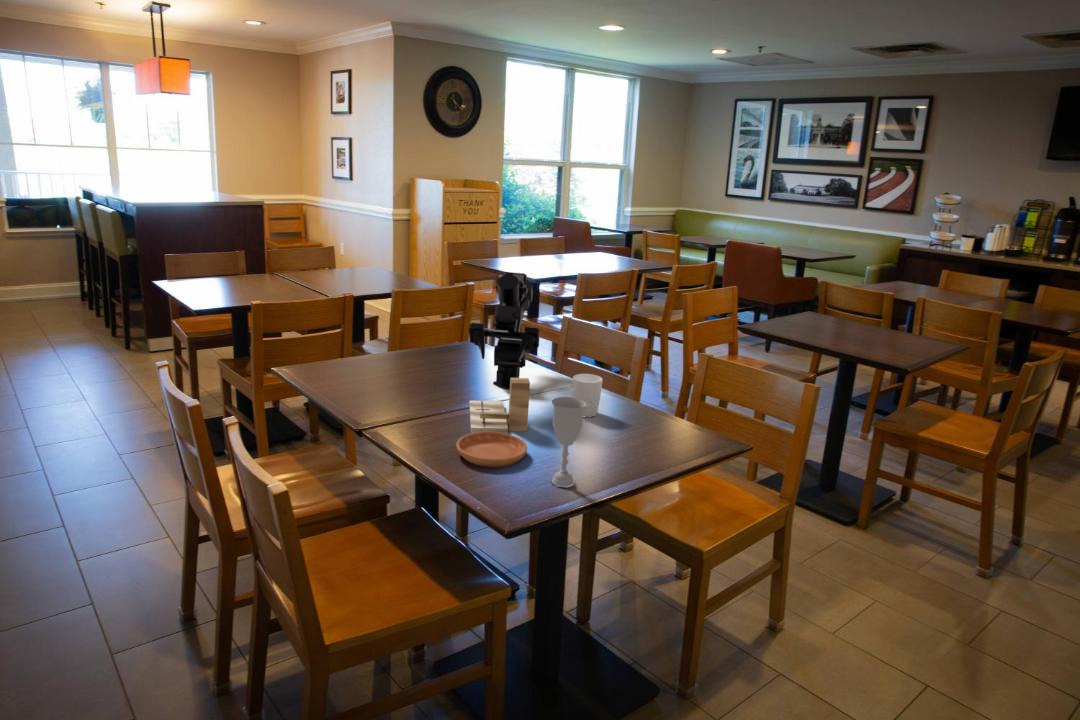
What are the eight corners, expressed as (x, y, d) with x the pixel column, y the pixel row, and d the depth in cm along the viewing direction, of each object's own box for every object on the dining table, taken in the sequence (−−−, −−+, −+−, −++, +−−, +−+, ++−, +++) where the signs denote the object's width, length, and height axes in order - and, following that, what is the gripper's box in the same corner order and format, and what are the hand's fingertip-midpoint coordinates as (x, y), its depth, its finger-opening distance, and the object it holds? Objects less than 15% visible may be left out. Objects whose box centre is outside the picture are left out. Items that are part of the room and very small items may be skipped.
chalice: (539, 483, 150) (545, 402, 146) (556, 472, 156) (561, 394, 151) (569, 493, 147) (576, 411, 142) (585, 482, 152) (592, 402, 148)
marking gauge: (479, 424, 181) (481, 376, 178) (525, 424, 183) (528, 378, 179) (479, 429, 177) (481, 381, 174) (527, 430, 179) (530, 383, 176)
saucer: (537, 452, 167) (538, 440, 166) (506, 477, 153) (507, 464, 152) (477, 437, 173) (478, 426, 172) (442, 460, 159) (442, 448, 158)
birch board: (469, 405, 194) (469, 400, 193) (502, 406, 195) (502, 400, 195) (470, 433, 175) (471, 427, 174) (507, 434, 176) (508, 428, 175)
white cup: (603, 418, 191) (606, 382, 189) (575, 418, 189) (578, 382, 187) (594, 408, 199) (597, 373, 196) (566, 408, 197) (569, 373, 194)
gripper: (472, 292, 190) (462, 336, 181) (542, 297, 190) (536, 342, 180) (474, 320, 199) (465, 364, 189) (541, 325, 198) (536, 369, 188)
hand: (500, 359), depth 187 cm, fingers open, 9 cm apart
